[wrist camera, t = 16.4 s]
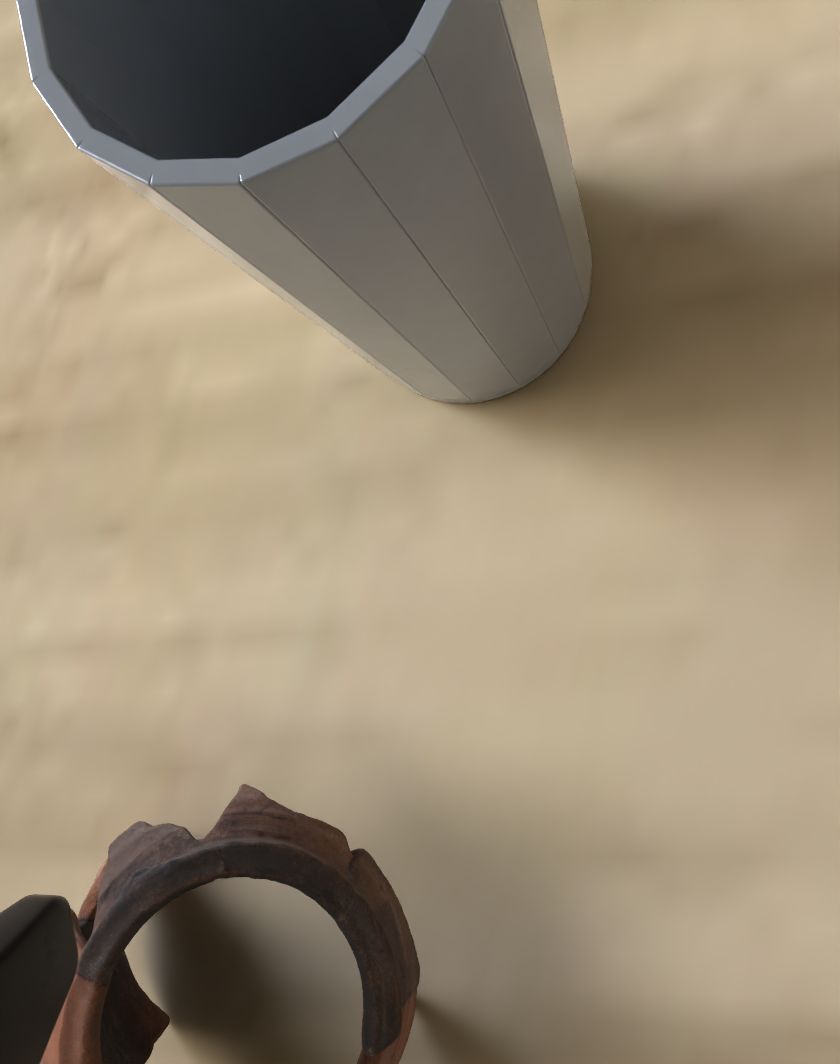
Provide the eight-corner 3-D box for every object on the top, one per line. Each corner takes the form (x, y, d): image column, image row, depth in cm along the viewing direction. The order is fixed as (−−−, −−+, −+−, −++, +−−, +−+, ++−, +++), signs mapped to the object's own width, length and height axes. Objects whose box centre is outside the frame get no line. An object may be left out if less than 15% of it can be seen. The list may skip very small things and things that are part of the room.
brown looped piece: (139, 736, 24) (85, 759, 16) (419, 807, 26) (493, 860, 18) (-8, 1165, 21) (-160, 1445, 14) (317, 1220, 23) (351, 1502, 15)
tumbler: (607, 165, 20) (533, -406, 9) (574, 413, 20) (449, 180, 8) (376, 170, 23) (56, -286, 11) (344, 395, 22) (-15, 187, 11)
